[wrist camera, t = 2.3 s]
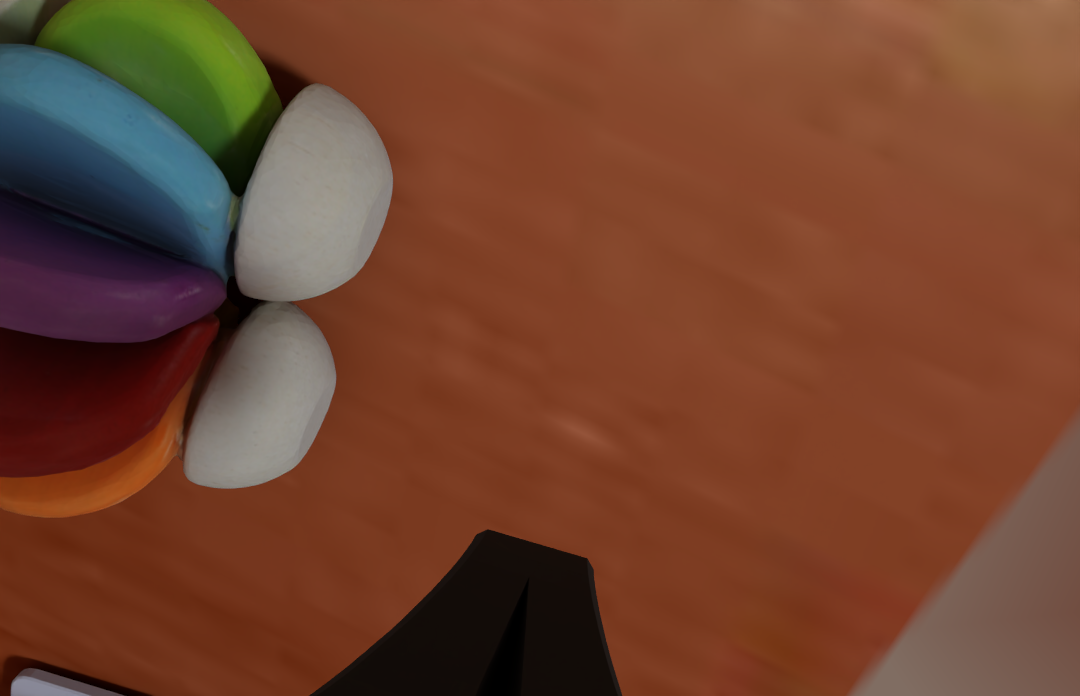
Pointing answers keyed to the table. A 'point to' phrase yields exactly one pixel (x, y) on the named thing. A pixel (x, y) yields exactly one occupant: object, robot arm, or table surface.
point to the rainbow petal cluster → (164, 250)
